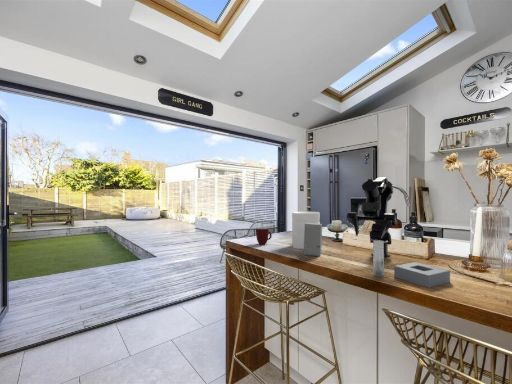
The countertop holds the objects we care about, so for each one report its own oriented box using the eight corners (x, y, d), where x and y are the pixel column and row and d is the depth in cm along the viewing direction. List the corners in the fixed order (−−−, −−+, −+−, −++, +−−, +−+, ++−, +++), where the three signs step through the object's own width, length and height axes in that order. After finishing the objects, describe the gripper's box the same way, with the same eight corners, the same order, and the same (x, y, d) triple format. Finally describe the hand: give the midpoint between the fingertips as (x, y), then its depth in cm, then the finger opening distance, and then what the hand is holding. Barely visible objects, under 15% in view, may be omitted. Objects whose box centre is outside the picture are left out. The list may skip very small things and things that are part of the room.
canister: (313, 243, 154) (313, 211, 154) (324, 248, 138) (324, 213, 139) (288, 244, 151) (288, 211, 152) (297, 250, 136) (297, 213, 136)
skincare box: (303, 255, 124) (303, 223, 124) (306, 252, 131) (306, 222, 131) (320, 256, 121) (320, 224, 121) (322, 253, 128) (322, 222, 128)
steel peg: (377, 273, 95) (377, 239, 95) (386, 276, 92) (385, 241, 92) (371, 274, 93) (371, 240, 93) (379, 277, 90) (379, 242, 90)
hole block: (415, 272, 96) (415, 262, 96) (450, 282, 85) (449, 270, 85) (394, 276, 91) (394, 265, 91) (428, 287, 80) (428, 275, 80)
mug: (266, 242, 159) (266, 226, 159) (274, 244, 152) (274, 227, 152) (253, 244, 152) (253, 228, 152) (261, 246, 146) (261, 229, 146)
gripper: (346, 194, 109) (340, 225, 101) (394, 194, 98) (391, 229, 90) (352, 207, 116) (346, 237, 109) (397, 208, 105) (395, 242, 98)
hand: (368, 236), depth 101 cm, fingers open, 9 cm apart
